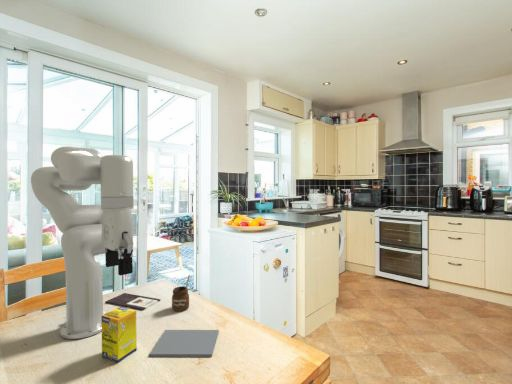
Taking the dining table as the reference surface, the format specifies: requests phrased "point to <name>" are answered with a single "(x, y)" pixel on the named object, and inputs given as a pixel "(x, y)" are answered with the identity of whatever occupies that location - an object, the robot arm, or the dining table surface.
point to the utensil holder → (180, 297)
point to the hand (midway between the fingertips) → (118, 269)
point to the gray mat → (186, 343)
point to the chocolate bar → (133, 301)
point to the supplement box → (118, 334)
